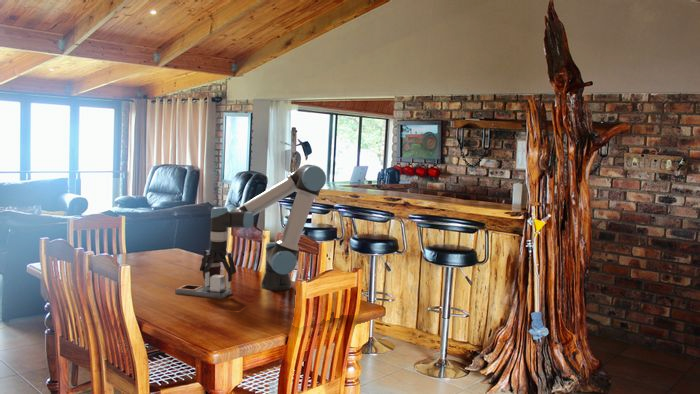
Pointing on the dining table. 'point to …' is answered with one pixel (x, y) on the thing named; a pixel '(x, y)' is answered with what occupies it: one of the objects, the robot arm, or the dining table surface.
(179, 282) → the dining table surface
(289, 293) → the dining table surface
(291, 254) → the robot arm
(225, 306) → the dining table surface
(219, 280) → the block
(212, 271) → the coffee cup
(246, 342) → the dining table surface
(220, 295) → the grey tray
